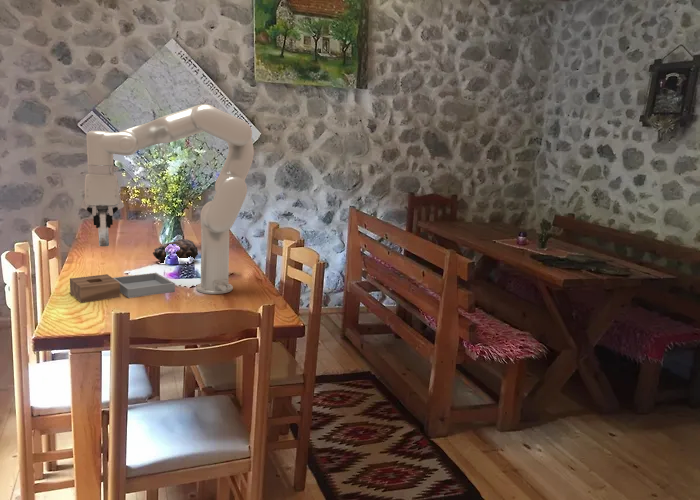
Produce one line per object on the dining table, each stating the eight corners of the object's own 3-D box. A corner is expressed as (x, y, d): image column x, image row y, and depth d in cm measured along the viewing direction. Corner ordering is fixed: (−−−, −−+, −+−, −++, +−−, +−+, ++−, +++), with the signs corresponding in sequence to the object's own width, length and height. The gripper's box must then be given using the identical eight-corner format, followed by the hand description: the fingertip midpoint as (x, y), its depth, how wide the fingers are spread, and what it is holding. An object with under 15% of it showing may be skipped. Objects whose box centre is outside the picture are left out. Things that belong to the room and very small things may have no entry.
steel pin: (113, 246, 191) (111, 204, 188) (99, 247, 188) (97, 205, 185) (108, 243, 194) (106, 202, 191) (94, 244, 191) (92, 203, 188)
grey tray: (174, 291, 202) (174, 283, 201) (128, 298, 191) (128, 289, 191) (156, 280, 214) (156, 272, 213) (111, 286, 203) (111, 277, 203)
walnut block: (120, 297, 192) (119, 282, 191) (81, 302, 184) (80, 287, 183) (107, 288, 200) (107, 274, 199) (70, 293, 193) (69, 278, 192)
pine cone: (151, 261, 241) (151, 237, 239) (194, 259, 249) (194, 236, 247) (155, 267, 232) (155, 242, 230) (200, 265, 240) (200, 241, 238)
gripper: (128, 169, 192) (130, 224, 196) (73, 168, 186) (76, 225, 190) (128, 171, 185) (130, 228, 189) (71, 171, 179) (74, 229, 183)
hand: (103, 226), depth 189 cm, fingers closed on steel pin, 3 cm apart
